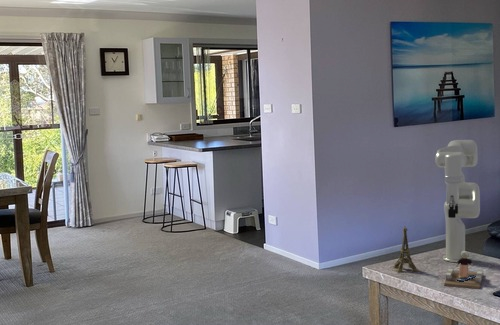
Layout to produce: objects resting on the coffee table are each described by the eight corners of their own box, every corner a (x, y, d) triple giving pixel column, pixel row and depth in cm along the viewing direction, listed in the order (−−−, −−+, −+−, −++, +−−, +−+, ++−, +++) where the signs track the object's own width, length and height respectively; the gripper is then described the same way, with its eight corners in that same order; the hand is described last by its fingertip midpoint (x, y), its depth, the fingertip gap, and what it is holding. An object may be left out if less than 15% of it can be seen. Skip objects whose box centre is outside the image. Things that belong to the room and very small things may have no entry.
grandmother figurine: (458, 279, 293) (458, 252, 292) (455, 276, 297) (455, 250, 296) (474, 278, 294) (474, 251, 292) (471, 276, 297) (471, 249, 296)
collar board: (450, 272, 308) (450, 265, 308) (483, 275, 302) (483, 267, 302) (444, 285, 289) (444, 278, 288) (479, 288, 282) (479, 281, 282)
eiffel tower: (397, 272, 312) (396, 222, 309) (392, 266, 323) (391, 218, 320) (419, 271, 312) (418, 221, 309) (413, 266, 323) (412, 217, 320)
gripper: (447, 177, 311) (447, 211, 313) (442, 182, 296) (442, 218, 298) (463, 177, 308) (463, 212, 310) (459, 182, 293) (459, 219, 294)
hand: (453, 215), depth 304 cm, fingers open, 9 cm apart
